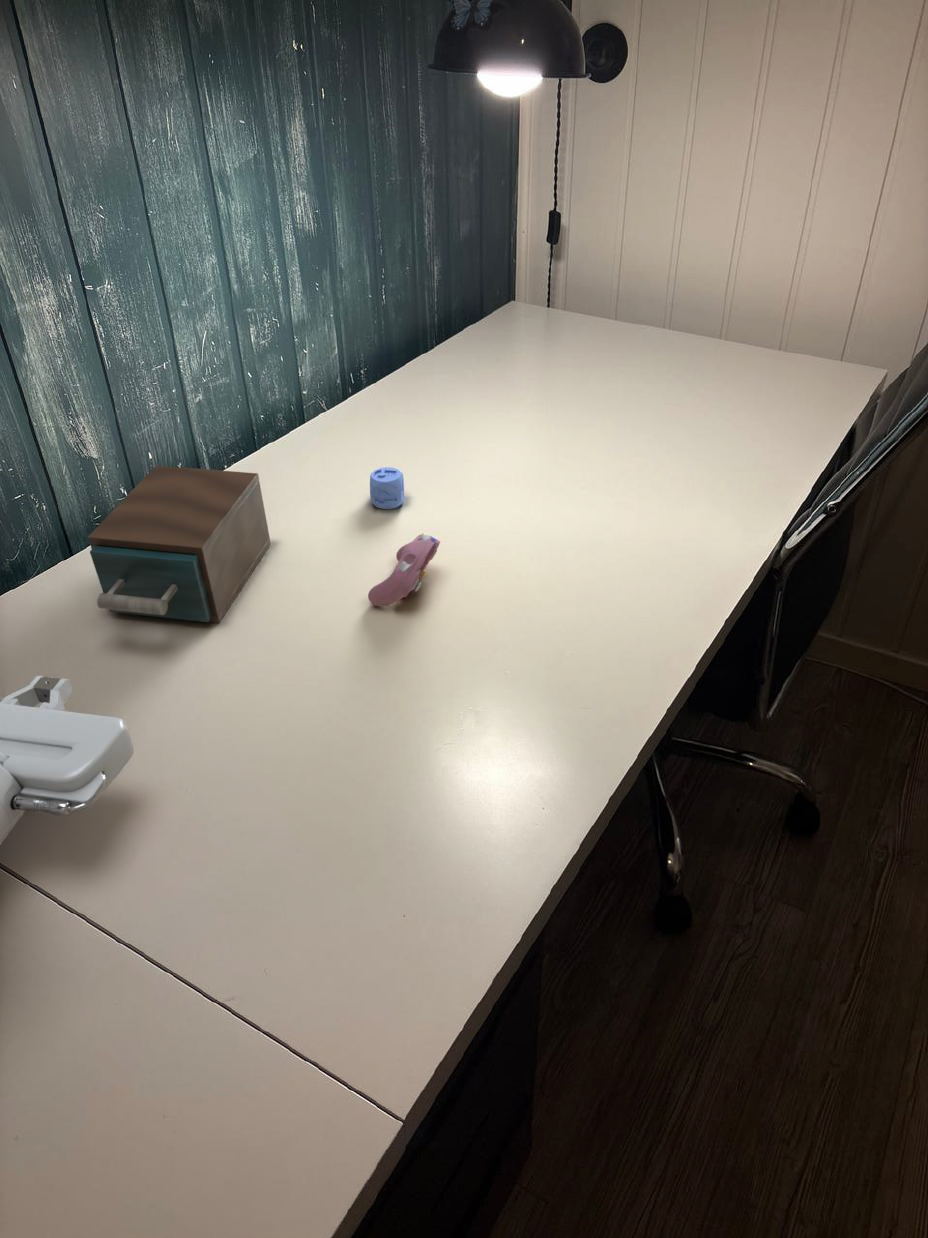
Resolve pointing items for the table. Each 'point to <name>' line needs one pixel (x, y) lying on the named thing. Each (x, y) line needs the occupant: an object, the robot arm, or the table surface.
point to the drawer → (151, 583)
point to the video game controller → (405, 571)
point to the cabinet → (195, 525)
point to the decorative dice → (387, 488)
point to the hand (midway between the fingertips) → (56, 682)
